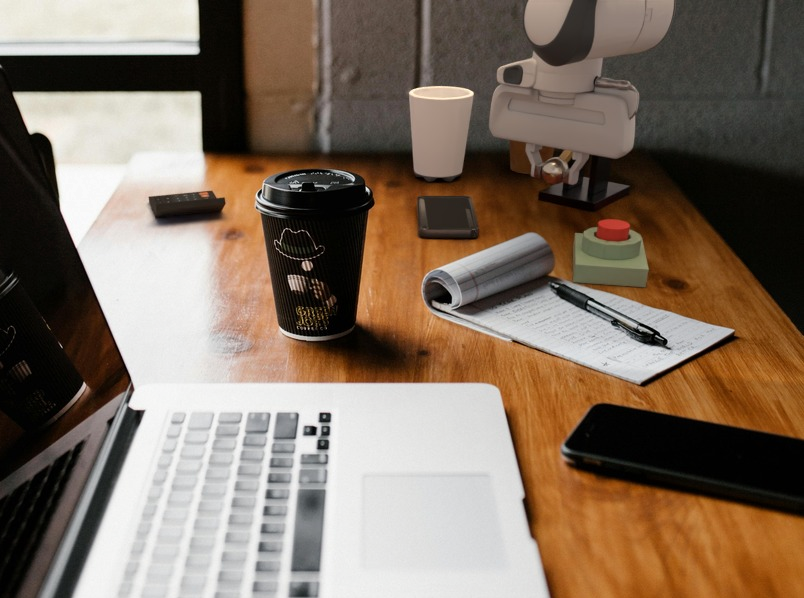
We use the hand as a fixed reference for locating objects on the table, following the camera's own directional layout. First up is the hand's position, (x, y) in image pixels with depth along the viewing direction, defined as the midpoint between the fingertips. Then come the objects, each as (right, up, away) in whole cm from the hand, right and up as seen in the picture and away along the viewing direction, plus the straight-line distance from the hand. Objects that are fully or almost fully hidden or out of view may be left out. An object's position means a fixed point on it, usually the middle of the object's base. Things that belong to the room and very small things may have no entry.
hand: (553, 180), depth 118 cm
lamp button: (+3, -12, -18) cm, 22 cm away
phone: (-15, -6, 0) cm, 16 cm away
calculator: (-51, -3, +4) cm, 52 cm away
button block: (+3, -15, -16) cm, 22 cm away
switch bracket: (+6, 0, +9) cm, 11 cm away
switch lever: (+4, +4, +2) cm, 6 cm away
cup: (-14, +6, +18) cm, 24 cm away
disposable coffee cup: (+1, +8, +22) cm, 23 cm away
